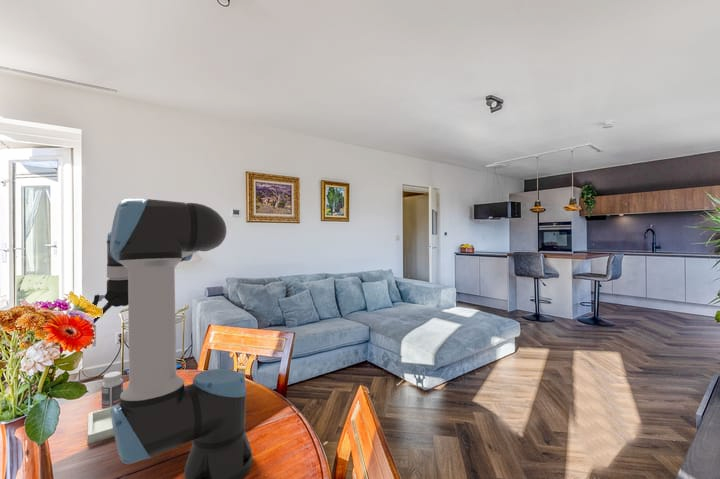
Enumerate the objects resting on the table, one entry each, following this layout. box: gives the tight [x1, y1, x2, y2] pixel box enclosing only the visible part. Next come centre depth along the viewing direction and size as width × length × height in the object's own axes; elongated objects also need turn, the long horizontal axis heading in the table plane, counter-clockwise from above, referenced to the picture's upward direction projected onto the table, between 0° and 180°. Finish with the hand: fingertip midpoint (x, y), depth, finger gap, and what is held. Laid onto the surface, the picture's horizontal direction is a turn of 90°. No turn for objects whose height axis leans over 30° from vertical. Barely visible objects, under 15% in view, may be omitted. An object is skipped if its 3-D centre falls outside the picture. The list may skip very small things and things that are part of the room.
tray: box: [87, 407, 115, 445], centre depth 96 cm, size 14×14×2 cm
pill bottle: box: [101, 371, 124, 409], centre depth 107 cm, size 6×6×10 cm
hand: (120, 341), depth 108 cm, fingers open, 13 cm apart
